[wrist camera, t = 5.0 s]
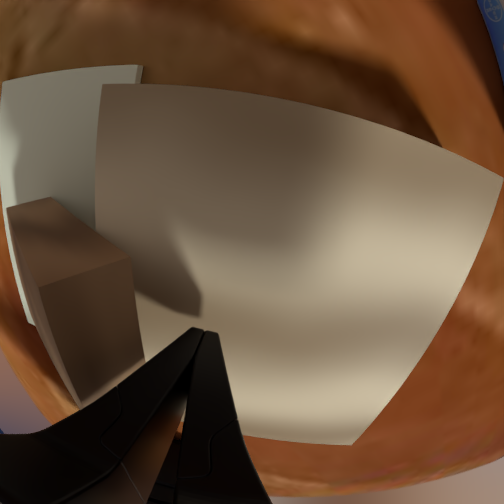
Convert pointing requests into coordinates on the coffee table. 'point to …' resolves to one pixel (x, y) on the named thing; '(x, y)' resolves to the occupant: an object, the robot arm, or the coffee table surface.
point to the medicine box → (495, 27)
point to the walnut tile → (77, 297)
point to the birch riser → (287, 245)
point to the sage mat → (53, 140)
